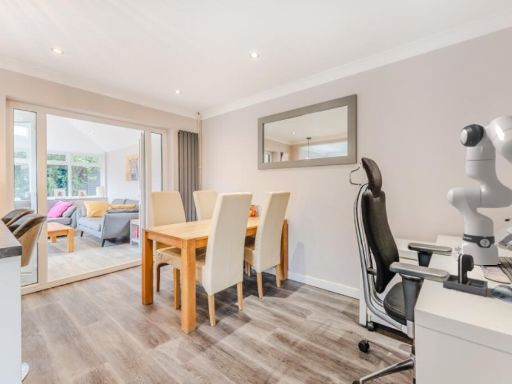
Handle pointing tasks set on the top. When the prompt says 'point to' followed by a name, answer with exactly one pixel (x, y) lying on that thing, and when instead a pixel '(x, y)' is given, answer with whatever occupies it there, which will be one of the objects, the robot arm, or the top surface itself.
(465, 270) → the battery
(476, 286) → the grey tray
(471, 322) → the top surface
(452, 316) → the top surface
